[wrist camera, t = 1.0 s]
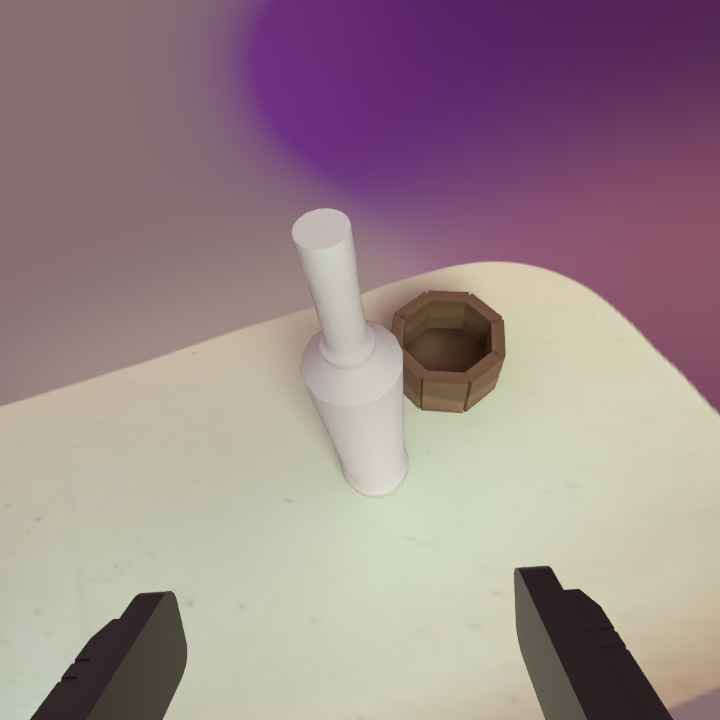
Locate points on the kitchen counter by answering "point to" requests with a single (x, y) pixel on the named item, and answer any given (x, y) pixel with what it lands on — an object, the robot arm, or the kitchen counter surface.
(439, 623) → the kitchen counter surface
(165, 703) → the robot arm
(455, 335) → the wooden cup
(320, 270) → the bottle
